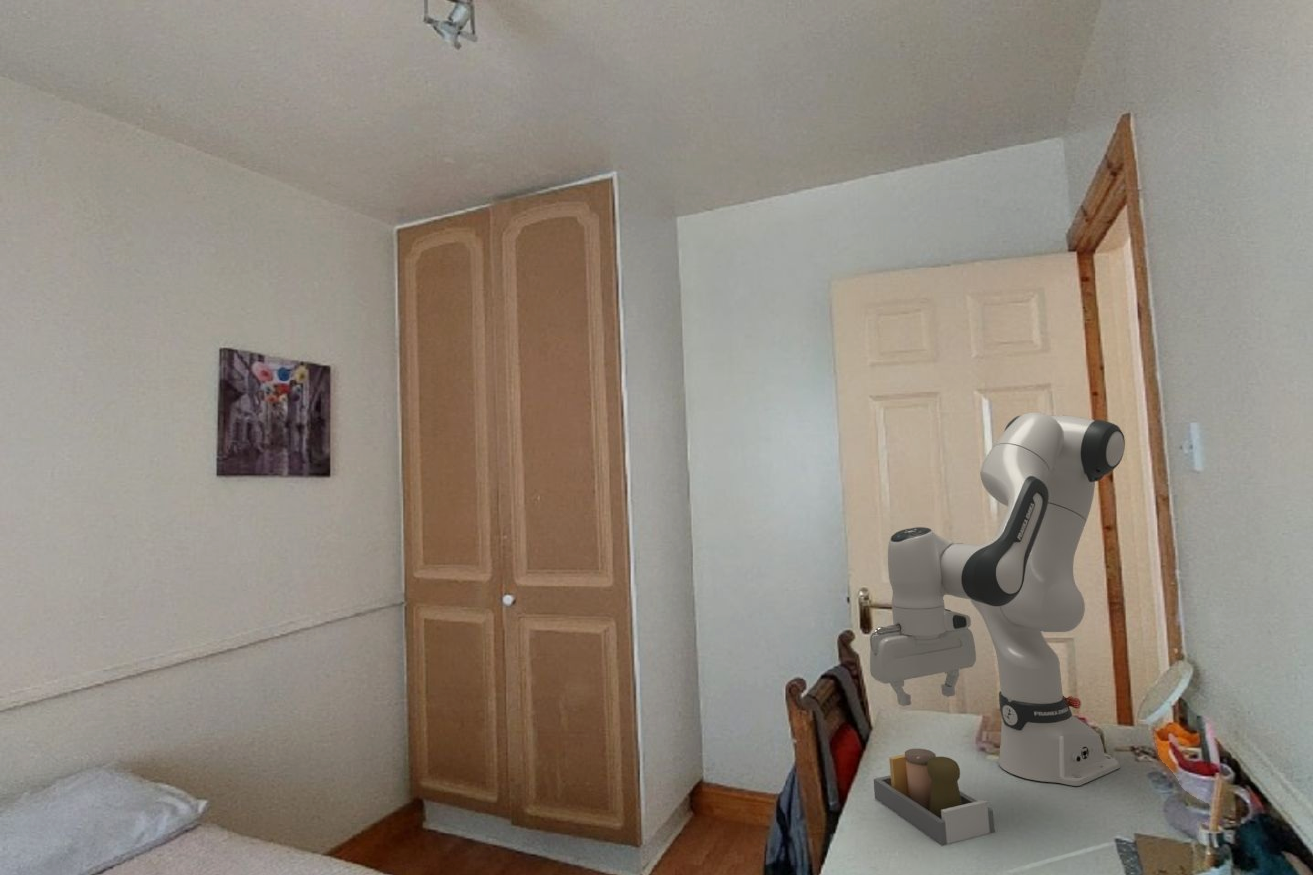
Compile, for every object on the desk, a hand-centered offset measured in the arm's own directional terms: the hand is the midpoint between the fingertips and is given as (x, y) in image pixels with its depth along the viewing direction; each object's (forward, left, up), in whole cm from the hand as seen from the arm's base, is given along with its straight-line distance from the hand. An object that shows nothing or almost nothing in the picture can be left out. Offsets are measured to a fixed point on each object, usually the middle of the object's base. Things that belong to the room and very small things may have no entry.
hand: (926, 699), depth 121 cm
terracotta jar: (+1, -3, -20) cm, 20 cm away
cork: (+1, +4, -20) cm, 20 cm away
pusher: (+1, -6, -20) cm, 21 cm away
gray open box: (+1, -1, -20) cm, 20 cm away
